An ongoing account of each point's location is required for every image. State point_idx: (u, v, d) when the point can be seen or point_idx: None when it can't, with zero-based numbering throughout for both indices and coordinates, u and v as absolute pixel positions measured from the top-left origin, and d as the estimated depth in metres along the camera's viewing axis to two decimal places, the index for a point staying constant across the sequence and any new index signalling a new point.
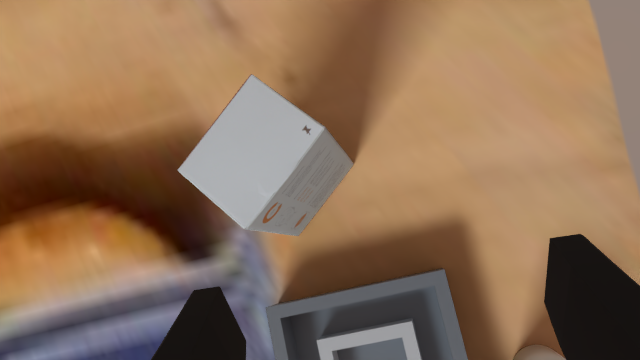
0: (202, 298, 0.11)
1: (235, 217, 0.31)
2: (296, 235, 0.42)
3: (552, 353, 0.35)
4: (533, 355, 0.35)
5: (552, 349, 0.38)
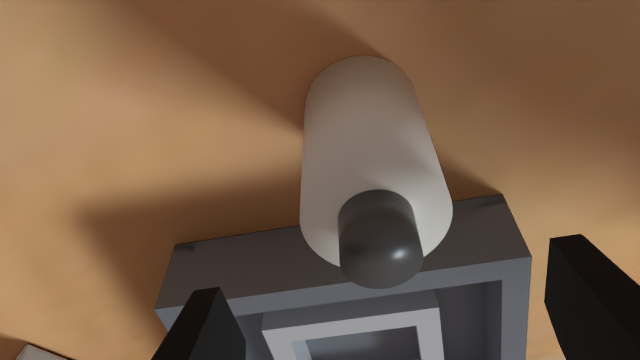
0: (202, 298, 0.11)
1: None
2: None
3: None
4: None
5: (312, 84, 0.17)
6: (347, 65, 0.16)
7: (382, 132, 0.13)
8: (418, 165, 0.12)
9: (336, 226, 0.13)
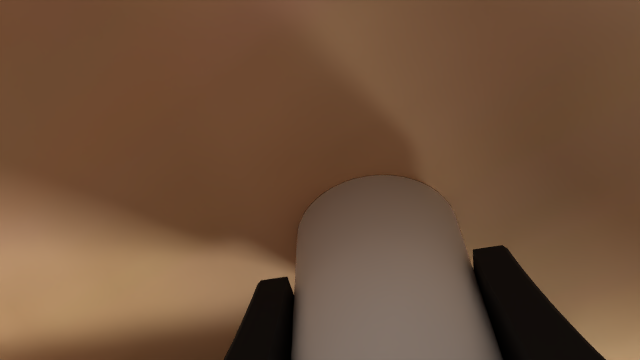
0: (271, 288, 0.10)
1: None
2: None
3: (291, 350, 0.10)
4: None
5: (308, 214, 0.12)
6: (359, 196, 0.11)
7: None
8: None
9: None
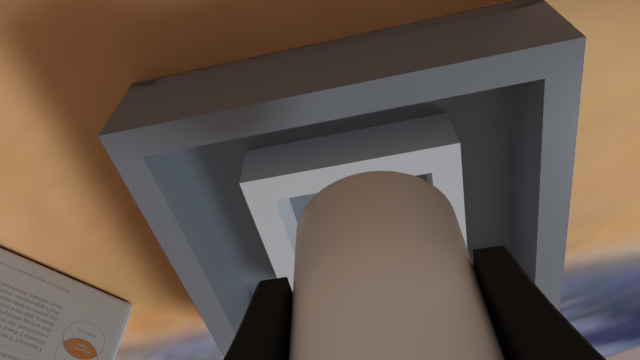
0: (271, 288, 0.10)
1: None
2: (127, 315, 0.24)
3: (290, 344, 0.10)
4: None
5: (307, 209, 0.12)
6: (359, 191, 0.11)
7: None
8: None
9: None
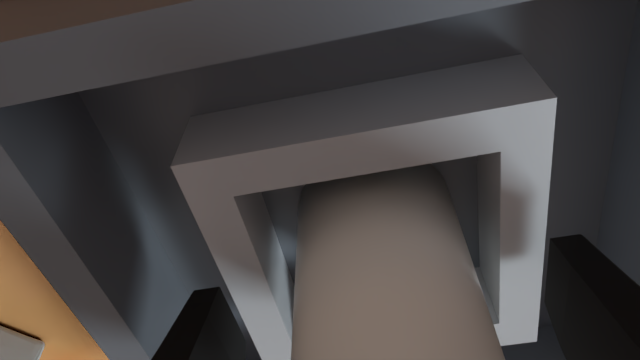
0: (202, 298, 0.11)
1: None
2: None
3: (294, 302, 0.10)
4: None
5: None
6: None
7: (417, 309, 0.08)
8: None
9: None
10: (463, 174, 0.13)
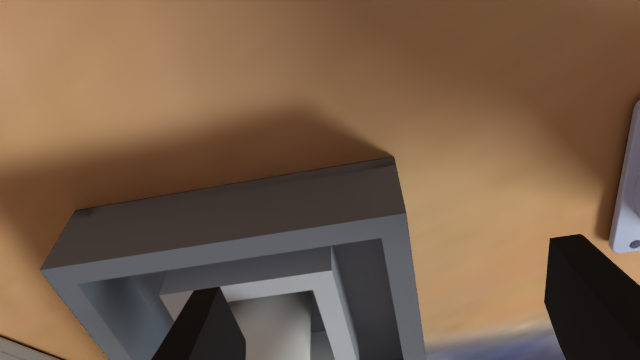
0: (202, 298, 0.11)
1: None
2: None
3: None
4: None
5: None
6: None
7: None
8: None
9: None
10: None
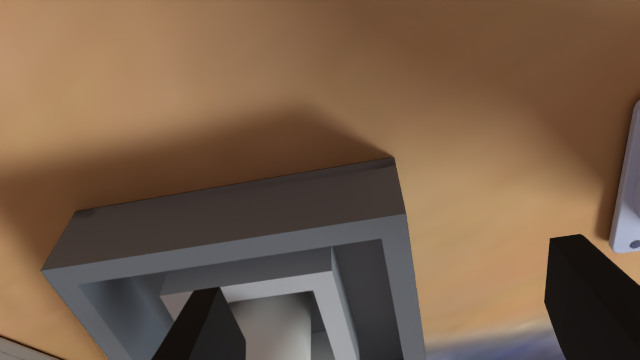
0: (202, 298, 0.11)
1: None
2: None
3: None
4: None
5: None
6: None
7: None
8: None
9: None
10: None
